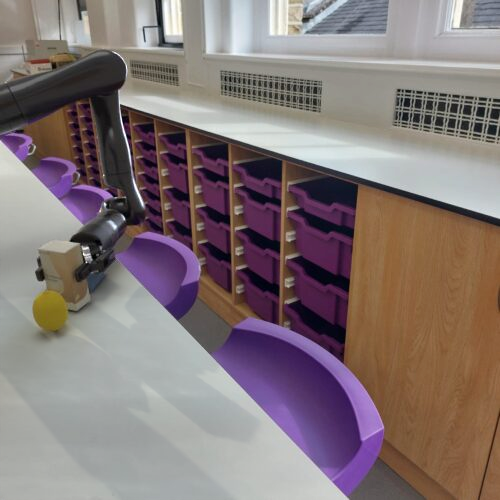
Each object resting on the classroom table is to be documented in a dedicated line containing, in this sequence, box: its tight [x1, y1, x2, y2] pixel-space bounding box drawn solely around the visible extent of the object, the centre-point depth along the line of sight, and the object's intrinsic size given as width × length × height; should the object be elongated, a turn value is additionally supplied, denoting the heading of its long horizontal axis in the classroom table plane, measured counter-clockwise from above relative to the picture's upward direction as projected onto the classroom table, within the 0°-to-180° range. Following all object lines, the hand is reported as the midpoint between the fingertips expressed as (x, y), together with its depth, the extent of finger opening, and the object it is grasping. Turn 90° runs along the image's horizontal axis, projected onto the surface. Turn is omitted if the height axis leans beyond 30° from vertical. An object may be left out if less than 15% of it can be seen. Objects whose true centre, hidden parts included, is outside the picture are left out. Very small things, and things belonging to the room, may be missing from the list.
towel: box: [86, 270, 105, 293], centre depth 101 cm, size 9×7×2 cm
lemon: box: [32, 289, 69, 332], centre depth 83 cm, size 6×6×8 cm
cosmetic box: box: [37, 239, 91, 312], centre depth 90 cm, size 6×4×12 cm
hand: (57, 277), depth 87 cm, fingers closed on cosmetic box, 7 cm apart
